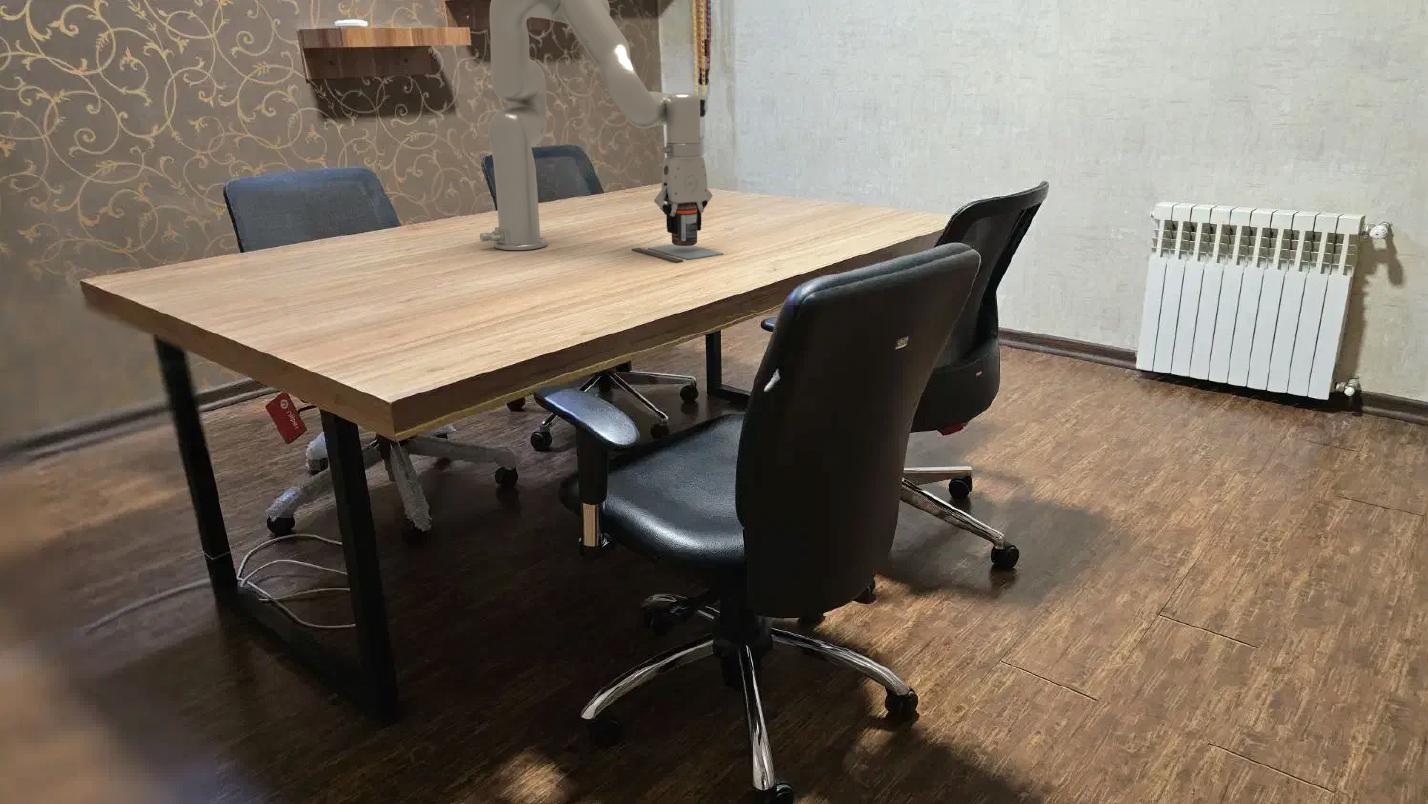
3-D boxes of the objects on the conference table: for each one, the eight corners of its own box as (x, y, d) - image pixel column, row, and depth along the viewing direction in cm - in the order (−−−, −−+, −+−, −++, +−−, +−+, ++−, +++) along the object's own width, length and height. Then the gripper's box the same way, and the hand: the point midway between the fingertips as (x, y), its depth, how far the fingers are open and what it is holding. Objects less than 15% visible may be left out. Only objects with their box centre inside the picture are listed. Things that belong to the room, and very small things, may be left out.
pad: (687, 260, 215) (687, 258, 215) (648, 249, 227) (648, 247, 227) (723, 254, 221) (723, 253, 221) (682, 244, 233) (682, 243, 233)
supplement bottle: (667, 243, 225) (666, 193, 221) (691, 241, 227) (690, 192, 223) (677, 247, 220) (677, 197, 216) (701, 245, 222) (701, 195, 218)
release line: (675, 263, 212) (675, 261, 212) (631, 250, 226) (631, 248, 226) (683, 261, 213) (683, 260, 213) (638, 249, 227) (638, 247, 227)
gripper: (661, 154, 209) (662, 238, 215) (724, 150, 219) (723, 229, 225) (642, 152, 214) (643, 233, 221) (704, 147, 224) (704, 225, 230)
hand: (684, 230), depth 223 cm, fingers closed on supplement bottle, 6 cm apart
